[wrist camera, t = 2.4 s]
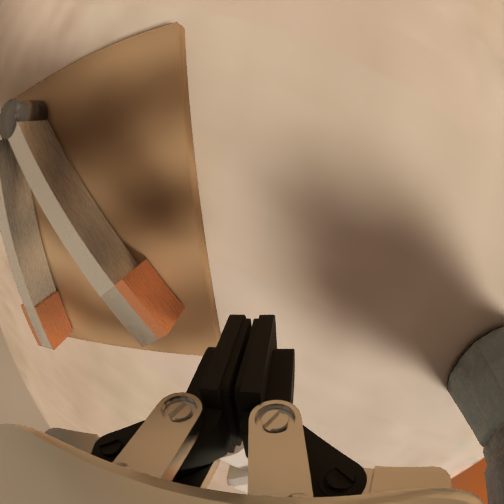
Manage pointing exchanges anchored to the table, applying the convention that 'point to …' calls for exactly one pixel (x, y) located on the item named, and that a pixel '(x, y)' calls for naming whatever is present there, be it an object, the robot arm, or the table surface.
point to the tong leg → (87, 226)
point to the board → (133, 181)
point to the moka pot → (484, 403)
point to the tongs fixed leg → (29, 255)
